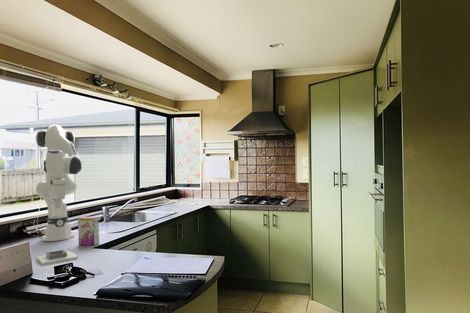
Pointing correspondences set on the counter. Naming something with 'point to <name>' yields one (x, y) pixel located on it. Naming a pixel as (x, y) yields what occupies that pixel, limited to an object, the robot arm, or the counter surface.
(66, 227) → the robot arm
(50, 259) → the socket plate
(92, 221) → the candy bar box
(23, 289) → the counter surface
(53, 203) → the charger block
